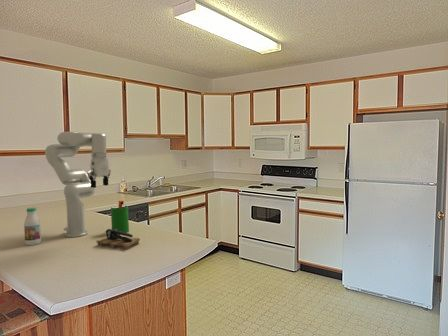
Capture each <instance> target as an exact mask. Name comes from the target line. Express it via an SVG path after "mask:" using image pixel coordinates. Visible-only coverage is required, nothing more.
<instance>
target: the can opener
mask: <svg viewBox="0 0 448 336" xmlns="http://www.w3.org/2000/svg"><path fill="white" fill-rule="evenodd" d="M105 234H106V237H107V238H108V239H115V238H118V239H121V240H124V241H128V242H131V241H132V239H129V238H126V237H132V238H134V236H133V234H132V233H131V234H130V233H129V232H127V233H126V232H123V231H117V229H115V230H113V229H112V228H108V229H106V230H105Z"/></svg>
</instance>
